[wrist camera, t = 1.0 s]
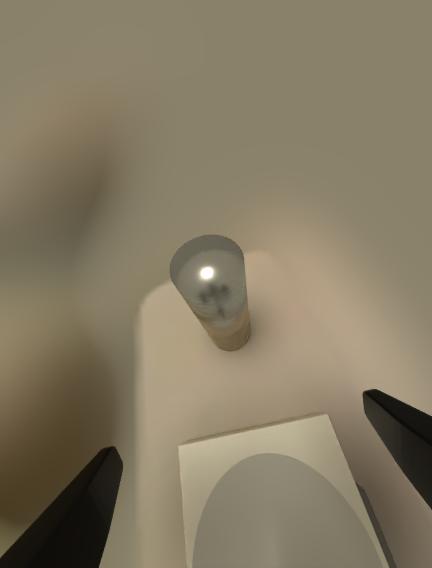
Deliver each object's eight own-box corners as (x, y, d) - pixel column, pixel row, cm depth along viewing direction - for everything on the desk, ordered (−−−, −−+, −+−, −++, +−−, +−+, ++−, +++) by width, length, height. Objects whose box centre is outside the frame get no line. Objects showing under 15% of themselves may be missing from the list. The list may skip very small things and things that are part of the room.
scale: (451, 725, 11) (521, 840, 8) (215, 757, 11) (201, 875, 8) (325, 411, 18) (338, 412, 15) (187, 441, 19) (174, 447, 16)
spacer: (254, 345, 22) (253, 285, 11) (214, 355, 22) (172, 305, 11) (244, 308, 24) (234, 227, 13) (207, 317, 24) (167, 244, 13)
